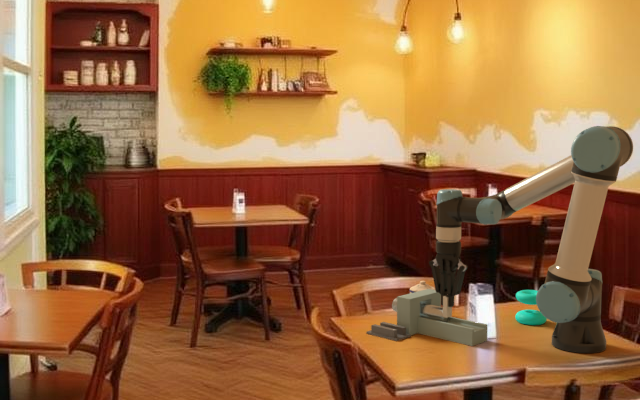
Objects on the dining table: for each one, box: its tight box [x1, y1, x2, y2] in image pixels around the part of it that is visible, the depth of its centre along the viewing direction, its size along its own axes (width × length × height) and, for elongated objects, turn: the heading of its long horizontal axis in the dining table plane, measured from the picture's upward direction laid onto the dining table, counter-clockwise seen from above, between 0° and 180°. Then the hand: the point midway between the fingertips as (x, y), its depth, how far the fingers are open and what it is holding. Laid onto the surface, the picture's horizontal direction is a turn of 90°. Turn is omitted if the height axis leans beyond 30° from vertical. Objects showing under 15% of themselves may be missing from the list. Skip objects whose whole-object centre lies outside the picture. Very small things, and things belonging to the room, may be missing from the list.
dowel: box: [391, 297, 450, 322], centre depth 241 cm, size 20×4×4 cm, turn 45°
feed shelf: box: [417, 316, 488, 347], centre depth 232 cm, size 20×8×5 cm, turn 45°
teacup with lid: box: [408, 280, 435, 294], centre depth 261 cm, size 12×9×12 cm
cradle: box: [365, 321, 412, 342], centre depth 234 cm, size 12×7×3 cm, turn 45°
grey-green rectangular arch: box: [396, 289, 442, 336], centre depth 241 cm, size 5×16×11 cm, turn 135°
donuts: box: [514, 289, 548, 326], centre depth 249 cm, size 10×10×10 cm
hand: (447, 316), depth 233 cm, fingers closed
